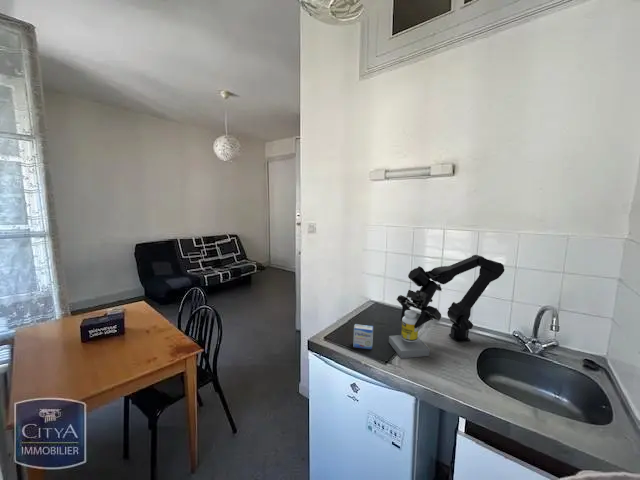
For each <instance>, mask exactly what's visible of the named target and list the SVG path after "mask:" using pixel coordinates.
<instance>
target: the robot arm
mask: <svg viewBox="0 0 640 480" xmlns="http://www.w3.org/2000/svg"><path fill="white" fill-rule="evenodd" d="M477 267H480V268H479V273H478V274H479V275H478V276H477V278H476V280H474V282H473V284H471V287H469V288H468V290H467V292H466V293H465V294H464V296H463V297H462V299H461V300H460V301H458V302H457V303H456V302H455V301H453V302H452V303H451V304H450V306H449V307H448V308H447V312H446V313H447V314H446V315H447V317H448V319H449V321H450V322H452V323H451V328H450V333H449V334H448V336H450V337H451V338H452V339H454V340H455V341H456V342H457V343H459V342H470V341H471V338H469V331H470V330H472V329H473V326H474V323H472V321H470V317H471V312H472V308H473V306H474V305H475V303H477V301H478V299H479V298H480V297H481V295H482V294H483V293H484V292H485V290H486V288H488V286H489V285H490V283H492V282H493V281H495V280H498V279H499V278H500V277H501V276H502V275H503V274H504V272H505V266H504V264H503V263H501V262H498V261H494V260H492V259H487V258H486V257H484V256H483V255H478V254H473V255H472V256H470V257H467V258H465V259H463V260H460V261H458V262H455V263H453V264H450V265H444V266H443V265H441V266H436V267H434V268H432V269H431V270H428V271H425V269H424V268H423V267H421V266H417V267H415V268H414V269H412V270H410V271H409V273H408V277H407V278H408V279H409V280H411V281H412V283H414V284H415V285H416V286H417V287H420V289H417V290H416V291H414V290H411V289H407V290H408V291H407V293H406V296H405V295H401V294H400V295H398V296H397V298H396V301H397V302H398V303H399V304H400V305H401V308H402V310H401V315H400V322H401V323H402V318H403V317H404V316H405V311H406V310H411V308H413V309H416V310H419V311H420V315H419V317H418V318H417V319H418V320H417V322H416V323H415V326H414V328H417V327H418V328H419V327H421V326H423V324H425V323H427V322H429V321H433V320H435V321H440V320H441V318H442V313H441V312H440V311H439V309H438V308H437V307H434V306H431V305H429V304H430V303H432V302H433V296H435V294H436V292H437V291H439V292H442V290H443V289H442V287H441V285H446V284H448V283H450V282H451V281H452V280H454V278H455V277H456V276H458V275H461V274H462V273H463V274H464V273H465V272H468V271H470V270H472V269H474V268H477ZM438 283H439V284H438Z"/></svg>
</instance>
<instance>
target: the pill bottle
mask: <svg viewBox="0 0 640 480" xmlns="http://www.w3.org/2000/svg"><path fill="white" fill-rule="evenodd" d="M417 314H418V313H417V311H415V310H413V309H410V310H406V311H405V316H404V317H403V318H402V322H401V334H400V335H401V337H402V339H403V340H405V341H408V342H415V341H416V340H417V339H418V337H419V327H417V328H414V326H415V323H416V322H417V320H418V318H417V316H418V315H417Z"/></svg>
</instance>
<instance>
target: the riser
mask: <svg viewBox="0 0 640 480" xmlns="http://www.w3.org/2000/svg"><path fill="white" fill-rule="evenodd" d="M388 343H389V344H390V346H391V348H393V350H394V351H395V352H396V354H397V355H398V356H399V358H400V359H407V358H417V357H419V358H420V357H429V356H430V349H431V348H430V347H428V345H427V344H426V343H424V341H423V340H422V339H421V338H420V337H419V336H418V339H417V340H416V341H415V342H408V341H405V340H403V339H402V337H401V334H398V335H396V334H395V335H389V336H388Z"/></svg>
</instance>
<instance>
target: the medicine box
mask: <svg viewBox="0 0 640 480" xmlns="http://www.w3.org/2000/svg"><path fill="white" fill-rule="evenodd" d="M373 338H374V325H366V324H365V325H364V324H358V323H355V324H354V325H353V340H352V341H353V344H352V345H353V348H357V349H364V350H373V345H374V344H373V343H374V339H373Z"/></svg>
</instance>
